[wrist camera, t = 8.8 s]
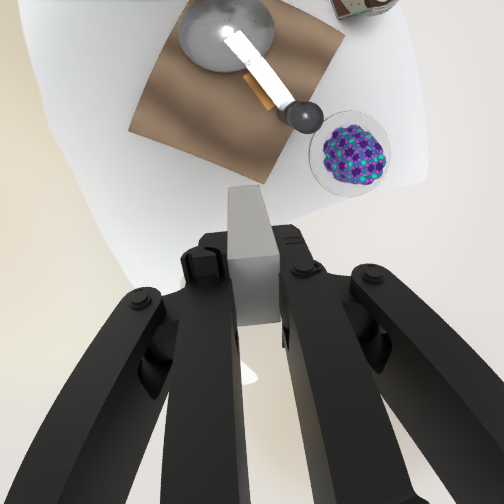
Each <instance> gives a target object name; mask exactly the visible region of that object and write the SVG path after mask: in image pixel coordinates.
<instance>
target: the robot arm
mask: <svg viewBox="0 0 504 504" xmlns="http://www.w3.org/2000/svg"><path fill="white" fill-rule="evenodd" d="M180 260H181V264H182V268H183V272H184V277H185V280H186V284H185V287H184V288H183V289H181V290H179V291H177V292H174V293H171V294H168V295H164V296H161V293H160V292H159V291H158V290H157V289H156V288H152V287H141V288H137V289H134V290H133V291H131V292H129V293H127V294H126V296H124V297H123V298H122V300H121V301H120V302H119V304H118V305H117V307H116V308H115V309H114V311H113V312H112V314H111V315H110V316H109V318H108V319H107V321H106V322H105V324H104V325H103V326H102V328H101V329H100V331H99V332H98V334H97V335H96V337H95V338H94V340H93V341H92V343H91V344H90V346H89V347H88V349H87V350H86V352H85V353H84V355H83V356H82V358H81V359H80V361H79V362H78V364H77V366H76V367H75V369H74V370H73V372H72V373H71V375H70V377H69V378H68V380H67V382H66V383H65V385H64V386H63V388H62V390H61V391H60V394H59V395H58V396H57V398H56V400H55V402H54V403H53V405H52V407H51V409H50V410H49V412H48V414H47V416H46V417H45V419H44V421H43V423H42V425H41V426H40V428H39V430H38V432H37V434H36V436H35V438H34V440H33V441H32V443H31V445H30V447H29V450H28V451H27V453H26V455H25V457H24V460H23V461H22V464H21V466H20V468H19V470H18V472H17V474H16V477H15V479H14V481H13V483H12V486H11V488H10V490H9V492H8V495H7V497H6V500H5V502H4V504H125V503H126V500H127V498H128V495H129V492H130V489H131V487H132V484H133V481H134V479H135V476H136V473H137V471H138V468H139V466H140V463H141V460H142V458H143V455H144V453H145V450H146V448H147V445H148V442H149V440H150V437H151V434H152V432H153V429H154V427H155V424H156V422H157V420H158V417H159V414H160V412H161V410H162V407H163V405H164V402H165V400H166V397H167V395H168V392H169V397H168V405H167V415H166V424H165V435H164V447H163V459H162V474H161V492H160V504H251V502H250V491H249V478H248V466H247V454H246V440H245V427H244V413H243V398H242V383H241V367H240V352H239V336H238V330H237V326H248V325H257V324H267V323H276V322H281V319H282V348H285V349H286V354H287V360H288V365H289V370H290V375H291V380H292V385H293V390H294V396H295V401H296V406H297V411H298V416H299V422H300V427H301V433H302V438H303V443H304V449H305V454H306V460H307V465H308V471H309V476H310V482H311V488H312V493H313V499H314V504H429V502H428V501H426V500H425V499H423V498H421V497H419V496H418V495H417V494H416V493H415V491H414V490H413V487H412V484H411V481H410V478H409V475H408V471H407V468H406V465H405V462H404V459H403V456H402V453H401V450H400V447H399V444H398V441H397V439H396V436H395V433H394V430H393V428H392V425H391V422H390V419H389V416H388V414H387V411H386V408H385V406H384V403H383V401H382V398H381V395H382V397H383V398H384V400H385V401H386V403H387V404H388V405H389V407H390V408H391V410H392V411H393V412H394V414H395V415H396V416H397V418H398V419H399V421H400V422H401V423H402V425H403V426H404V428H405V429H406V431H407V432H408V434H409V435H410V436H411V438H412V439H413V441H414V442H415V444H416V445H417V446H418V448H419V449H420V451H421V452H422V454H423V455H424V457H425V458H426V459H427V461H428V462H429V464H430V465H431V467H432V468H433V470H434V471H435V473H436V474H437V475H438V477H439V478H440V480H441V481H442V483H443V484H444V486H445V487H446V489H447V490H448V492H449V493H450V495H451V496H452V498H453V499H454V501H455V502H456V504H504V382H503V381H502V380H501V379H500V378H499V377H498V375H497V374H496V373H495V372H494V371H493V370H492V369H491V368H490V367H489V366H488V365H487V363H486V362H485V361H484V360H483V359H482V358H481V357H480V356H479V355H478V354H477V353H476V352H475V351H474V350H473V349H472V348H471V347H470V346H469V345H468V344H467V343H466V342H465V341H464V340H463V339H462V338H461V337H460V336H459V335H458V334H457V333H456V332H455V331H454V330H453V329H452V328H451V327H450V326H449V325H448V324H447V323H446V322H445V321H444V320H443V319H442V318H441V317H440V316H439V315H438V314H437V313H436V312H435V311H434V310H433V309H431V308H430V307H429V306H428V305H427V304H426V303H425V302H424V301H423V300H422V299H420V298H419V297H418V296H417V295H416V294H415V293H414V292H413V291H412V290H411V289H409V288H408V287H407V286H406V285H405V284H404V283H403V282H402V281H401V280H399V279H398V278H397V277H396V276H395V275H394V274H392V273H391V272H390V271H389V270H387V269H386V268H384V267H382V266H379V265H376V264H361V265H359V266H357V267H355V268H354V269H353V271H352V274H351V276H342V275H334V274H330V273H327V271H326V269H325V268H324V266H323V265H322V264H321V263H319V262H317V261H315V260H313V257H312V255H311V253H310V251H309V249H308V247H307V244H306V243H305V240H304V238H303V237H302V234H301V232H300V230H299V229H298V228H296V227H295V226H294V225H292V224H289V225H278V226H271V224H270V221H269V217H268V214H267V211H266V207H265V204H264V201H263V197H262V194H261V191H260V188H259V185H249V186H239V187H229V188H228V231H225V232H215V233H205V234H204V235H203V236H202V238H201V239H200V240H199V243H198V246H196V247H194V248H191V249H189V250H188V251H186V252H185V253H184V254H183V255H182V257H181V258H180ZM380 394H381V395H380Z"/></svg>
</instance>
